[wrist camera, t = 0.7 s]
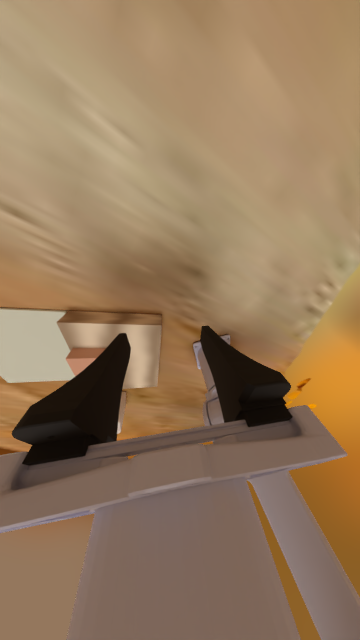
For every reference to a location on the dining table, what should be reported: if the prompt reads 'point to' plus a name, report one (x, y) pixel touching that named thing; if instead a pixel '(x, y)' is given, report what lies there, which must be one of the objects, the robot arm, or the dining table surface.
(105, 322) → the block
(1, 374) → the mat
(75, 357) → the block
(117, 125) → the dining table surface
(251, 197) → the dining table surface
